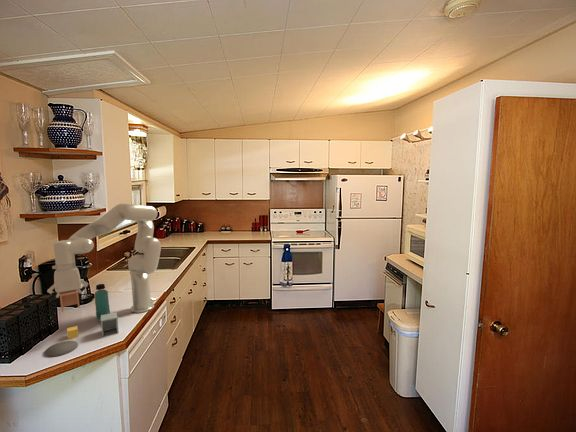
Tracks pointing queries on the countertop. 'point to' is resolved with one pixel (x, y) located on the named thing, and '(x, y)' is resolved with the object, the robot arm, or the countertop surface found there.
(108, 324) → the slate cover
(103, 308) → the beverage bottle
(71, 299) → the rust cover
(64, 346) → the charcoal mat
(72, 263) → the robot arm
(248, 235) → the countertop surface
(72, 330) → the mustard cube
